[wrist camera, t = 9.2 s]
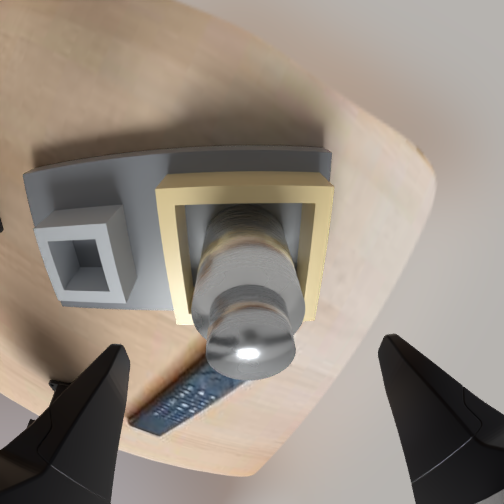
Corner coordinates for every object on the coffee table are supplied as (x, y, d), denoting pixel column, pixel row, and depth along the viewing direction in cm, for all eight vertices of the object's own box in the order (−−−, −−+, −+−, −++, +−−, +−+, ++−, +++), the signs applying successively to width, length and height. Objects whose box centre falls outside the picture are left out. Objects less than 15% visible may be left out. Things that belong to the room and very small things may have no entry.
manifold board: (308, 293, 20) (321, 333, 17) (70, 294, 19) (49, 328, 16) (323, 147, 15) (349, 163, 12) (35, 167, 14) (-2, 188, 11)
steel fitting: (281, 273, 18) (306, 386, 11) (207, 275, 17) (194, 390, 10) (286, 203, 15) (325, 302, 8) (202, 205, 15) (174, 307, 8)
